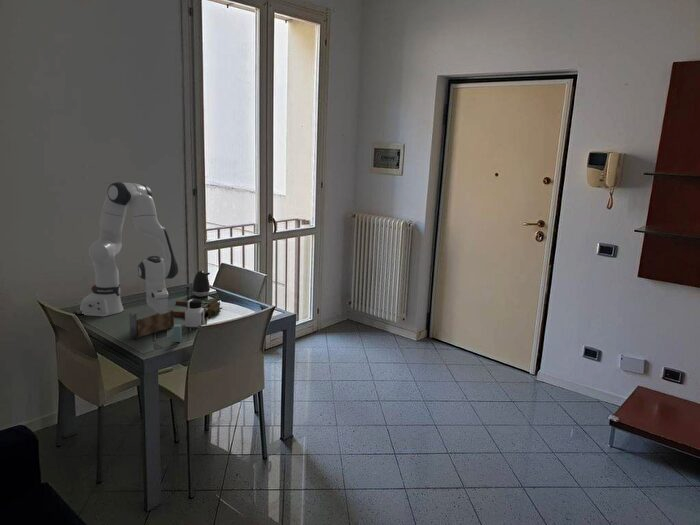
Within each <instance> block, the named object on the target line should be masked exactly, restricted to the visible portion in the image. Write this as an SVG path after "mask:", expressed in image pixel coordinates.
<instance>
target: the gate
mask: <svg viewBox="0 0 700 525" xmlns="http://www.w3.org/2000/svg"><path fill="white" fill-rule="evenodd" d="M173 311H174V310H172V309H171V310H167V313H166V314H161V315H159V314H156V315H154V314H153V315H149V316H146V317H145V316H144V317H143V318H139V319H137V338H140V337H145V336H147V335H150V334H153V333H156V332H159V331H163V330H166V329H169V328H174V327H173V326H174V325H175V322H174V321H175V320H174V319H175V316H174V313H173Z"/></svg>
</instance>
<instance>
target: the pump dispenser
mask: <svg viewBox="0 0 700 525" xmlns="http://www.w3.org/2000/svg"><path fill="white" fill-rule="evenodd" d="M209 275H211V273H210V272H205V271H203V270H198V271H197V272H196V273H195V276H194V277H193V281H192V285H191V290H192V293H193V295H194V296H196V297H198V298H204V297H206V296H208V295H209V293H210V290H211V285H210V282H209V281H210V280H209V278H208V276H209ZM203 296H204V297H203Z"/></svg>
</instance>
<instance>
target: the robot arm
mask: <svg viewBox="0 0 700 525" xmlns="http://www.w3.org/2000/svg"><path fill="white" fill-rule="evenodd" d="M102 205H103V206H102V208H101V209H102V210H101V214H100V217H99V221H98V226H99V237H98V239H97V240H95V241H94V242H93V243H91V245H90V246H89V248H88V257H89V258H90V259H91V262H92V265H93V270H94V276H95V280H94V281H95V283H94V284H93V285H92V287H91V288H90V289H91V290H90V291H92V292H91V293H89V294H88V295H86V296H85V297H84V298H83V299H82V300H81V302H80V306H79V307H80V310H81V311H83V312H82V314H84V315H83V316H94V317H107V316H110V315H115V314H119V313H121V312H123V311H124V310H125V309H124V306H123V303H122V299H121V290H122V289H121V284H120V276H119V275H120V274H119V272H120V271H119V269H118V267H117V264H116V259H115V256H117V255H118V254H119V253H120V252H121V249H122V247H123V244H122V240H123V239H122V236H123V228H124V223H125V219H126V214H127V209H128V207H130V208H131V213H132V222H133V226H134V229H135V230H136V231H137V232H138V233H140V234H141V235H143V236H145V237H149V238H152V239H155V240H157V241H158V242H159V244H160V246H161V250H162V253H163V256H164V258H163V257H161V256H160V255H151V256H148V257H146V259H145V260H142V261H140V263H139V264H138V265H137V268H138V269H137V271H138V277H139V278H140V279H142V280H144V281H145V282H146V283H145V294H146V304H147V305H148V306H149V307H150V308H151V309H152V312H153V315H156V314H159V315H161V314H166V313H167V311H168V307H169V305H168V304H169V303H168V302H169V300H168V298H169V293H168V290H167V287H166V286H167V285H166V279H167V280H170V279H174V278H175V277H176V276H177V275H178V273H179V265H178V262H177V260H176V257H175V255H174V251H173V248H172V247H173V246H172V245H171V241H170V238H169V235H168V232H167V231H168V230H166V227H164V226H162V225H161V224H160V221H159V220H158V214H157V209H156V204H155V200H154V199H153V192H152V190H151V188H150V187H149V186H147V185H145V184H142V183H135V182H121V181H118V182H117V181H116V182H113V183H111V184H109V186H108V188H107V195H106V197H105V199H104V203H103V204H102Z"/></svg>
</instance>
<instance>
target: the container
mask: <svg viewBox="0 0 700 525" xmlns="http://www.w3.org/2000/svg"><path fill="white" fill-rule="evenodd" d="M187 301H188V306H187V310H186V311H184V312H185V316H184V327H187V328H199V327H198V326H199V325H202V326H203V324H204V323H205V316H204V308H201V302H202V300H201V299H198V298H191V299H188V300H187Z"/></svg>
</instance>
